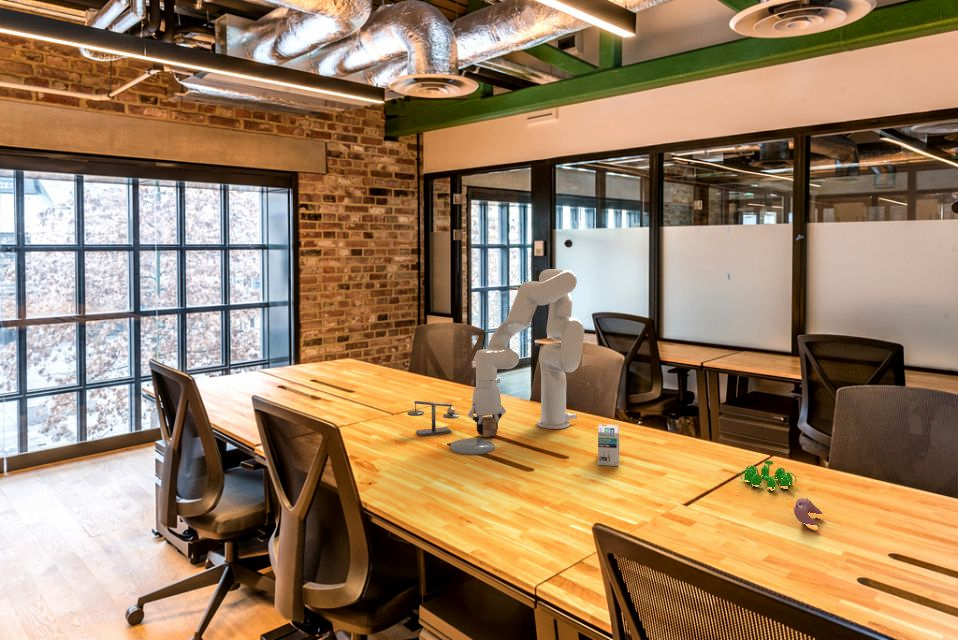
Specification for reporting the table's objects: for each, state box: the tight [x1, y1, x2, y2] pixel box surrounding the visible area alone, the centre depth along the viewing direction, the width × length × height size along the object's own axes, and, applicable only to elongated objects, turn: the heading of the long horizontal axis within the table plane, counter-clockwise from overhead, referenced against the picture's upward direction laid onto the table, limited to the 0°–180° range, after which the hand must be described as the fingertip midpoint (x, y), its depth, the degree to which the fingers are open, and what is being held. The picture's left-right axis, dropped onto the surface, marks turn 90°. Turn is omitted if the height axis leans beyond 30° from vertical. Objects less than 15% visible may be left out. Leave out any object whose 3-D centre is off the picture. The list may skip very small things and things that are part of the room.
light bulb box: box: [597, 423, 620, 467], centre depth 216 cm, size 11×7×11 cm, turn 168°
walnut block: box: [477, 415, 498, 438], centre depth 244 cm, size 5×5×6 cm
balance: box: [406, 400, 460, 437], centre depth 249 cm, size 20×6×13 cm, turn 113°
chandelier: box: [740, 460, 797, 489], centre depth 195 cm, size 15×15×7 cm
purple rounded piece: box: [793, 497, 824, 525], centre depth 167 cm, size 10×5×7 cm, turn 146°
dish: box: [450, 437, 495, 456], centre depth 230 cm, size 15×15×1 cm
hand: (487, 432), depth 244 cm, fingers closed on walnut block, 5 cm apart
